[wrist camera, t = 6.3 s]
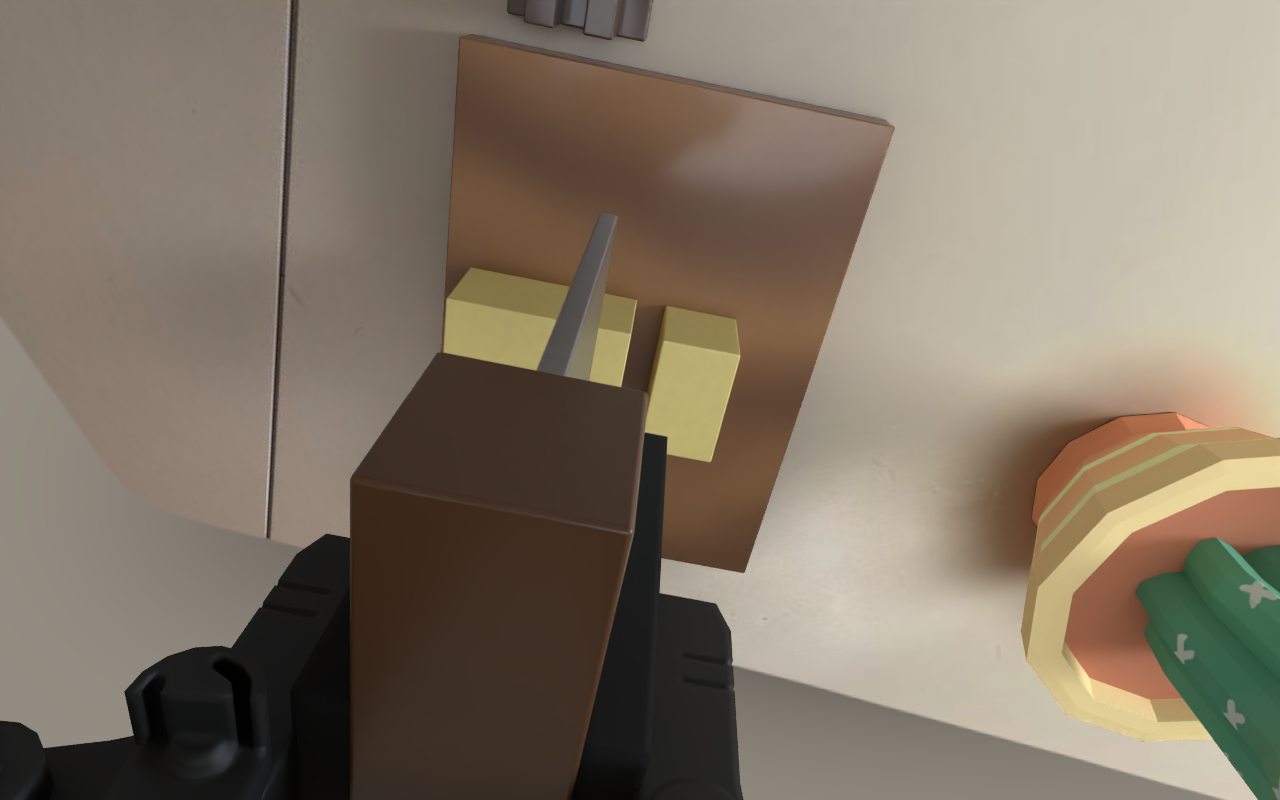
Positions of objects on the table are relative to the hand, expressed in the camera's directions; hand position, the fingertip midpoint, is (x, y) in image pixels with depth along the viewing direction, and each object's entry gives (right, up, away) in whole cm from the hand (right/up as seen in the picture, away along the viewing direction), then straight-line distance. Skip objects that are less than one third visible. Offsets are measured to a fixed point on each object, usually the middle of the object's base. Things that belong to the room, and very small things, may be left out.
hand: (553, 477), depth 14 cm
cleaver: (0, +2, +4) cm, 4 cm away
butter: (-2, +4, +18) cm, 19 cm away
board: (+1, +4, +19) cm, 20 cm away
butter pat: (+4, +3, +18) cm, 19 cm away
